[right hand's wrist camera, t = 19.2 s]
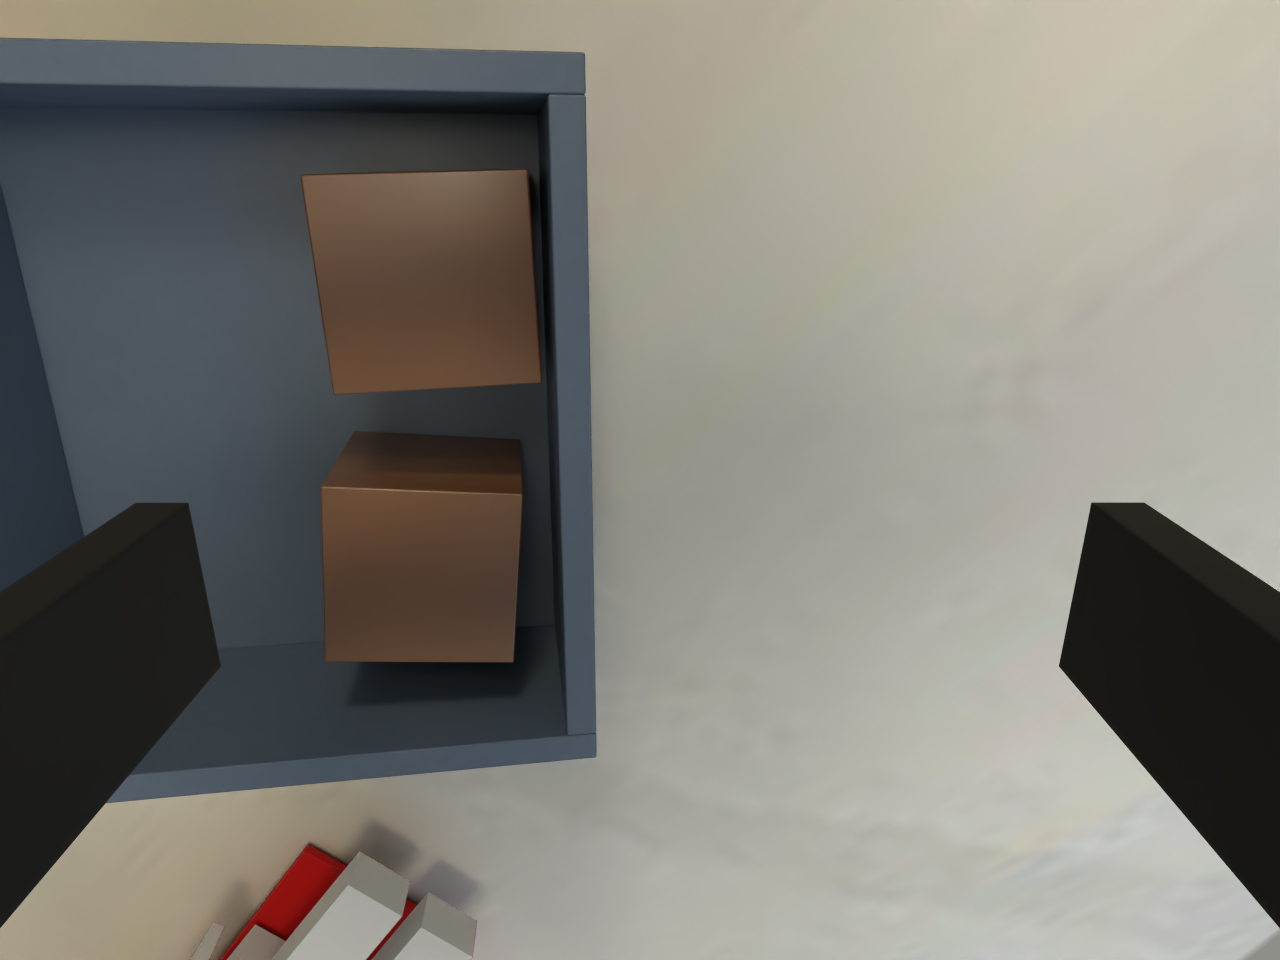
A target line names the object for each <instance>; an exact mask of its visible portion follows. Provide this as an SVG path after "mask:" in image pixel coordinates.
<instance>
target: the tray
mask: <svg viewBox="0 0 1280 960" xmlns="http://www.w3.org/2000/svg"><path fill="white" fill-rule="evenodd" d="M585 92H586V82H585V54H584V53H583V52H548V51H508V50H468V49H429V48H389V47H349V46H310V45H270V44H231V43H191V42H151V41H112V40H72V39H32V38H0V592H1V591H3V590H4V589H6V588H7V587H9V586H10V585H12V584H13V583H15V582H16V581H18V580H20V579H21V578H23V577H24V576H26V575H27V574H29V573H30V572H32V571H33V570H35V569H36V568H38V567H39V566H41V565H42V564H44V563H45V562H47V561H48V560H50V559H51V558H53V557H54V556H56V555H57V554H59V553H60V552H62V551H63V550H65V549H66V548H68V547H69V546H71V545H72V544H74V543H76V542H77V541H79V540H80V539H82V538H83V537H85V536H86V535H88V534H89V533H91V532H92V531H94V530H95V529H97V528H98V527H100V526H101V525H103V524H104V523H106V522H107V521H109V520H110V519H112V518H113V517H115V516H116V515H118V514H119V513H121V512H122V511H124V510H125V509H127V508H128V507H130V506H132V505H133V504H135V503H189V508H190V513H191V518H192V523H193V528H194V533H195V538H196V543H197V548H198V553H199V558H200V563H201V568H202V573H203V578H204V583H205V588H206V593H207V598H208V603H209V608H210V614H211V619H212V624H213V629H214V634H215V639H216V644H217V649H218V654H219V659H220V664H221V667H220V668H219V669H218V670H217V672H216V673H215V674H214V675H213V676H212V678H211V679H210V680H209V681H208V682H207V683H206V685H205V686H204V687H203V688H202V689H201V691H200V692H199V693H198V694H197V695H196V696H195V698H194V699H193V700H192V701H191V702H190V704H189V705H188V706H187V707H186V708H185V710H184V711H183V712H182V713H181V714H180V715H179V717H178V718H177V719H176V720H175V721H174V723H173V724H172V725H171V726H170V727H169V728H168V730H167V731H166V732H165V733H164V734H163V736H162V737H161V738H160V739H159V740H158V742H157V743H156V744H155V745H154V746H153V747H152V749H151V750H150V751H149V752H148V753H147V755H146V756H145V757H144V758H143V759H142V761H141V762H140V763H139V764H138V765H137V766H136V768H135V769H134V770H133V771H132V772H131V774H130V775H129V776H128V777H127V778H126V779H125V781H124V782H123V783H122V784H121V785H120V787H119V788H118V789H117V790H116V791H115V793H114V794H113V795H112V796H111V797H110V798H109V800H108V801H107V802H106V803H112V802H123V801H133V800H144V799H155V798H166V797H176V796H187V795H198V794H208V793H219V792H230V791H240V790H251V789H262V788H272V787H283V786H294V785H304V784H315V783H326V782H336V781H347V780H358V779H368V778H379V777H390V776H401V775H411V774H422V773H433V772H443V771H454V770H465V769H475V768H486V767H497V766H507V765H518V764H529V763H539V762H550V761H561V760H571V759H582V758H593V757H596V755H597V753H596V692H595V631H594V570H593V510H592V449H591V388H590V327H589V266H588V205H587V144H586V97H585V95H584V94H585ZM486 169H528V174H529V189H530V204H531V219H532V235H533V250H534V265H535V280H536V296H537V311H538V326H539V341H540V357H541V372H542V382H541V383H535V384H517V385H500V386H483V387H466V388H449V389H432V390H415V391H398V392H380V393H363V394H346V395H334V393H333V389H332V382H331V375H330V369H329V362H328V356H327V349H326V343H325V336H324V329H323V323H322V316H321V310H320V303H319V297H318V290H317V283H316V277H315V270H314V264H313V257H312V250H311V244H310V237H309V231H308V224H307V218H306V211H305V204H304V198H303V191H302V185H301V178H300V176H301V175H302V174H325V173H365V172H406V171H446V170H486ZM354 431H364V432H384V433H404V434H424V435H444V436H464V437H484V438H504V439H519V440H520V449H521V466H522V483H523V508H522V526H521V544H520V562H519V580H518V598H517V616H516V634H515V652H514V662H512V663H511V662H327V661H325V637H324V599H323V561H322V523H321V486H322V484H323V482H324V481H325V479H326V477H327V476H328V474H329V472H330V471H331V469H332V467H333V466H334V464H335V462H336V461H337V459H338V457H339V456H340V454H341V452H342V451H343V449H344V447H345V446H346V444H347V442H348V441H349V439H350V437H351V436H352V434H353V432H354Z"/></svg>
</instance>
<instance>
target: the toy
mask: <svg viewBox="0 0 1280 960" xmlns="http://www.w3.org/2000/svg"><path fill="white" fill-rule="evenodd" d="M409 885H410V881H409V880H407V879H406V878H404V877H402V876H401V875H399V874H397V873H396V872H394V871H392V870H390V869H389V868H387V867H385V866H384V865H382V864H380V863H379V862H377V861H375V860H374V859H372V858H370V857H369V856H367V855H365V854H363V853H362V852H360V851H359V852H358V854H357V855H356V856H355V857H354V859H353V860H352V861H351V862H350V863H349V865H348V866H346V865H344V864H343V863H341V862H339V861H337V860H335V859H334V858H332V857H330V856H328V855H326V854H325V853H323V852H321V851H319V850H317V849H316V848H314V847H312V846H310V845H307V846H306V848H305V849H304V850H303V852H302V853H301V854H300V856H299V857H298V858H297V859H296V861H295V862H294V863H293V865H292V866H291V867H290V869H289V870H288V871H287V873H286V874H285V875H284V876H283V878H282V879H281V880H280V882H279V883H278V884H277V886H276V887H275V888H274V890H273V891H272V892H271V894H270V895H269V896H268V897H267V899H266V900H265V901H264V903H263V904H262V905H261V907H260V908H259V909H258V911H257V912H256V913H255V914H254V916H253V917H252V918H251V920H250V921H249V922H248V924H247V925H246V926H245V928H244V929H243V930H242V931H241V933H240V934H239V935H238V937H237V938H236V939H235V941H234V942H233V943H232V945H231V946H230V947H229V949H228V950H227V951H226V952H225V954H224V955H223V956H222V958H221V959H220V960H471V959H472V958H473V952H474V943H475V935H476V927H477V920H475V919H473V918H471V917H470V916H468V915H466V914H465V913H463V912H461V911H460V910H458V909H456V908H455V907H453V906H451V905H450V904H448V903H446V902H444V901H443V900H441V899H439V898H438V897H436V896H434V895H433V894H431V893H429V892H428V893H427V894H426V895H425V897H424V898H423V899H422V900H421V901H420V903H419V904H418V905H416V904H415V903H413V902H411V901H409V900H407V899H406V898H407V894H408V890H409ZM224 928H225V926H222V925H220V924H217V923H215V922H213V924H212V925H211V927H210V928H209V930H208V932H207V933H206V935H205V937H204V938H203V940H202V941H201V943H200V945H199V946H198V948H197V950H196V951H195V953H194V954H193V956H192V958H191V959H190V960H209V959H210V957H211V955H212V953H213V951H214V949H215V947H216V944H217V942H218V940H219V938H220V936H221V934H222V932H223V930H224Z"/></svg>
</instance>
